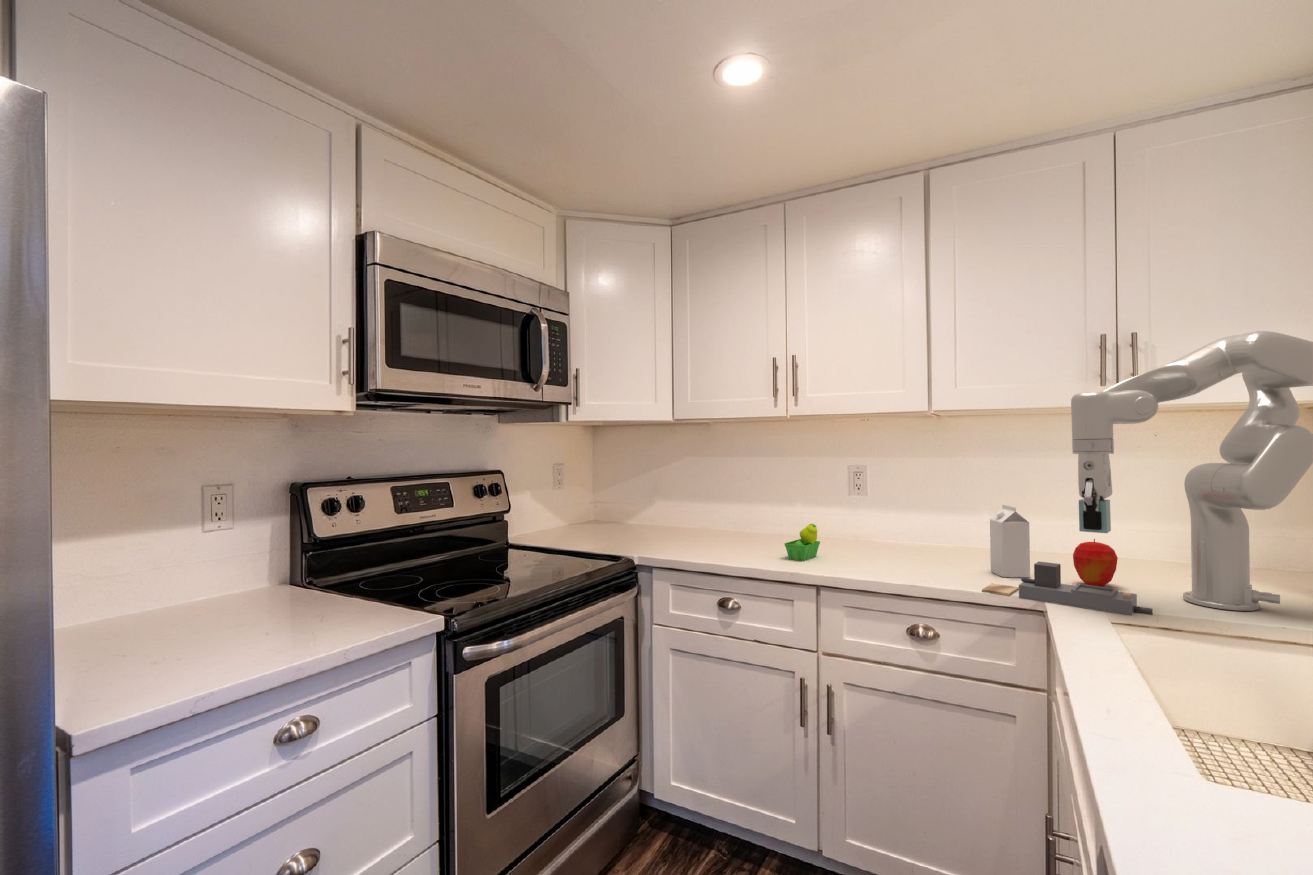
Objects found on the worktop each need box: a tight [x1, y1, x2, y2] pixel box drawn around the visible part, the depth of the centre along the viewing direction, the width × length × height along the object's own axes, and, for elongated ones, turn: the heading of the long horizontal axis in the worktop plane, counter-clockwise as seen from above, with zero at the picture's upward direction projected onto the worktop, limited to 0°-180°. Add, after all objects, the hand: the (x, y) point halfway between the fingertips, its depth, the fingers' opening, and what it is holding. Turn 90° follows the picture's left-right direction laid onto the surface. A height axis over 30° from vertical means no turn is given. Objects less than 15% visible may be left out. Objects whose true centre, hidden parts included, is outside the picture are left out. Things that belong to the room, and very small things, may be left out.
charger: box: [1078, 498, 1112, 534], centre depth 133 cm, size 5×5×7 cm
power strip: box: [1018, 561, 1154, 616], centre depth 135 cm, size 24×8×8 cm, turn 45°
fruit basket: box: [783, 523, 821, 562], centre depth 189 cm, size 11×9×11 cm
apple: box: [1072, 538, 1119, 587], centre depth 150 cm, size 9×9×12 cm
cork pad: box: [981, 583, 1019, 597], centre depth 147 cm, size 6×8×1 cm
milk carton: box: [989, 504, 1031, 578], centre depth 163 cm, size 7×7×19 cm
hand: (1095, 526), depth 133 cm, fingers closed on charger, 5 cm apart
